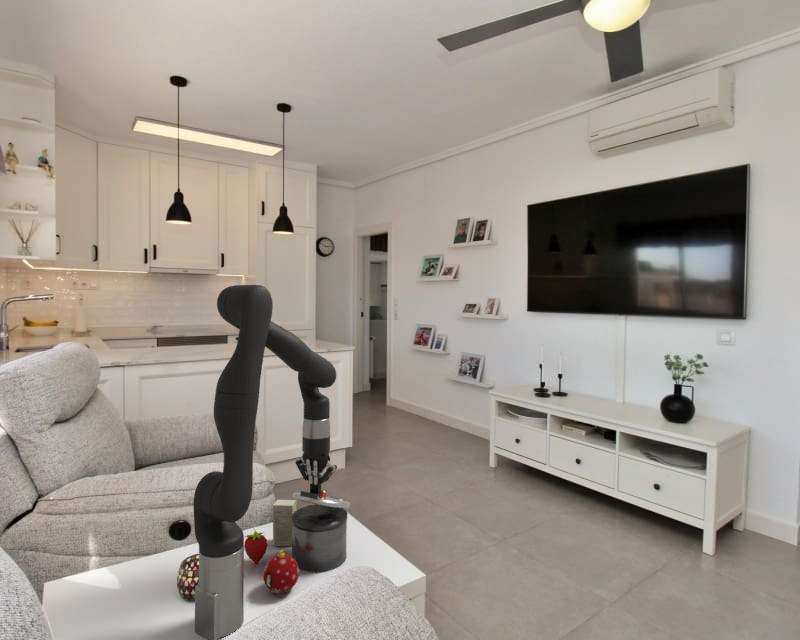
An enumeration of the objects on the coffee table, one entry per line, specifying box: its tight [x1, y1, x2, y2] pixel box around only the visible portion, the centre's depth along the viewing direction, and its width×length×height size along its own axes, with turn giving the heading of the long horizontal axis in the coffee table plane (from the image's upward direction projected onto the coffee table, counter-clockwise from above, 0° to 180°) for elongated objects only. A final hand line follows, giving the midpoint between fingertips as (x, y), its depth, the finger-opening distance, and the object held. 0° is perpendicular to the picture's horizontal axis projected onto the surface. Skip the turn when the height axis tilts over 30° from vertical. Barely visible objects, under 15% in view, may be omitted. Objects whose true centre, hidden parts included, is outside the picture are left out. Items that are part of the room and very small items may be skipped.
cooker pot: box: [291, 504, 348, 573], centre depth 134 cm, size 15×15×12 cm
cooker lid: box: [292, 489, 351, 509], centre depth 135 cm, size 17×16×3 cm
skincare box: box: [271, 499, 298, 547], centre depth 142 cm, size 6×4×12 cm
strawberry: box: [244, 528, 268, 566], centre depth 130 cm, size 6×8×10 cm
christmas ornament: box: [262, 549, 300, 594], centre depth 118 cm, size 9×9×10 cm
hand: (315, 496), depth 131 cm, fingers closed
